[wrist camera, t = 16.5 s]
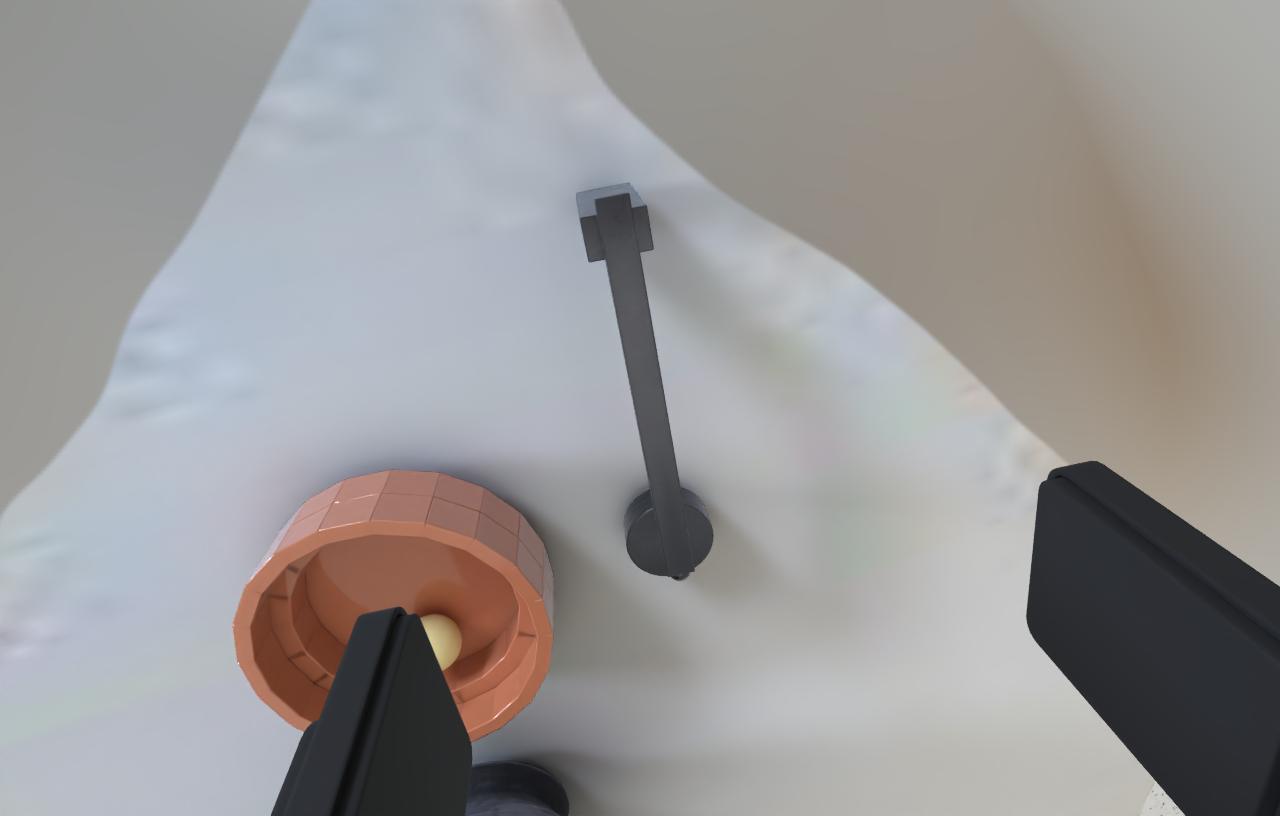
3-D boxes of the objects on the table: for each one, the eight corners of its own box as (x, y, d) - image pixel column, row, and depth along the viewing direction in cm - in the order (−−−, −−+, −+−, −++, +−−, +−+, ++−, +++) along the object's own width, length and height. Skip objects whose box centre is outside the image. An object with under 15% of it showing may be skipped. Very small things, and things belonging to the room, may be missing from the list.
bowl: (226, 497, 34) (176, 559, 30) (516, 438, 34) (509, 490, 30) (333, 703, 40) (305, 780, 36) (577, 651, 41) (579, 721, 36)
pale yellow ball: (451, 600, 36) (472, 622, 39) (397, 609, 37) (421, 630, 39) (446, 657, 34) (468, 676, 37) (389, 666, 35) (414, 684, 37)
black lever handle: (546, 181, 29) (543, 209, 23) (651, 160, 29) (679, 182, 23) (631, 563, 38) (647, 666, 32) (711, 546, 38) (744, 645, 32)
